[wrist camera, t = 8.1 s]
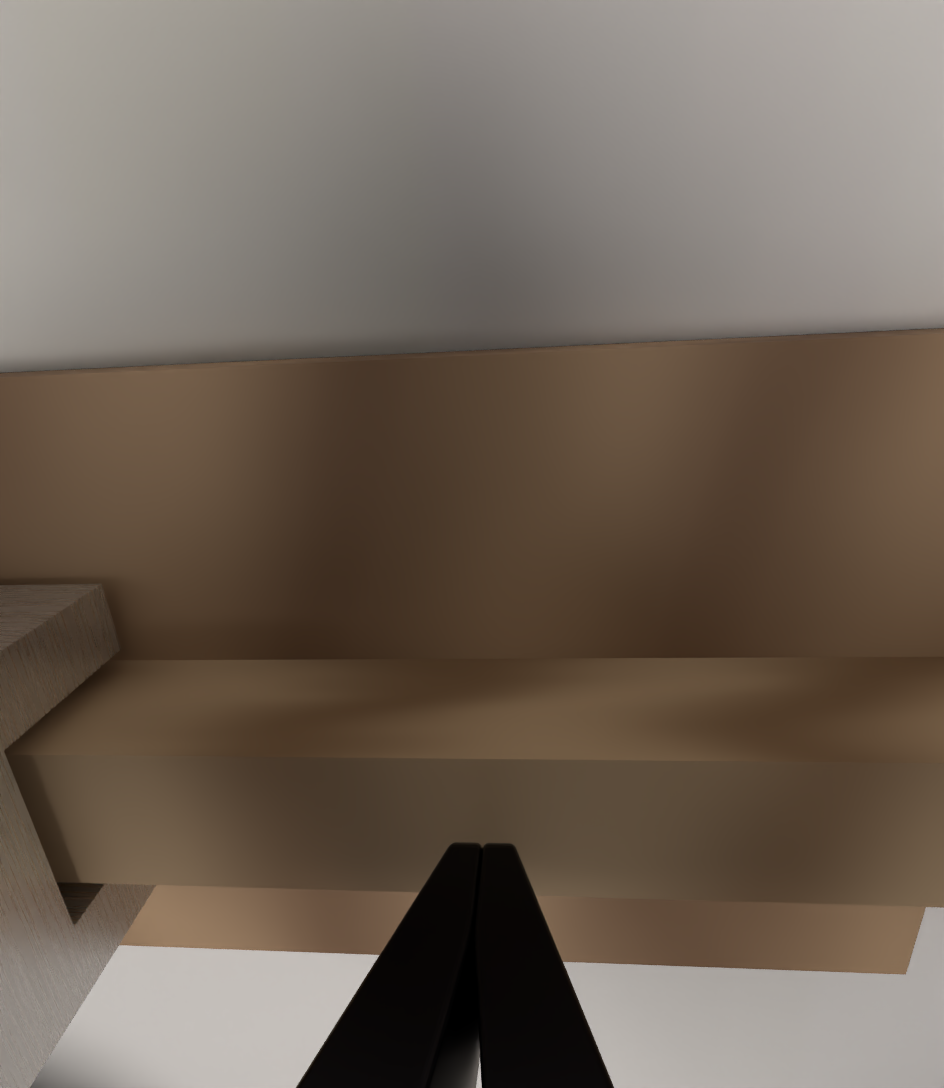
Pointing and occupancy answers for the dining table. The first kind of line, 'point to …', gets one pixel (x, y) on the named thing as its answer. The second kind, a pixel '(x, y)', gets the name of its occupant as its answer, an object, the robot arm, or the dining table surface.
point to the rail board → (501, 641)
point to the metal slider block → (14, 847)
